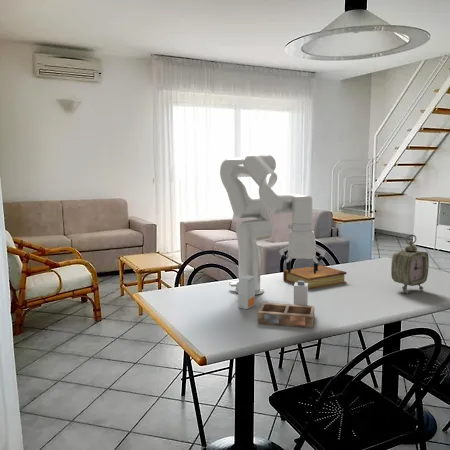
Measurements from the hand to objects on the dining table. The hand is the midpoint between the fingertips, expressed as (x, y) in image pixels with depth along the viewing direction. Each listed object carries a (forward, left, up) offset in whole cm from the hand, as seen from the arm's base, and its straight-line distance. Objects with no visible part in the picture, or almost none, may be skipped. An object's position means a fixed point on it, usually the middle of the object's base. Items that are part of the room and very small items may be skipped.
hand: (302, 272), depth 168 cm
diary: (+3, +44, -15) cm, 47 cm away
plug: (0, 0, -15) cm, 15 cm away
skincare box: (-21, -1, -15) cm, 26 cm away
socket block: (-4, -13, -15) cm, 20 cm away
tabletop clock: (+44, +37, -15) cm, 59 cm away
